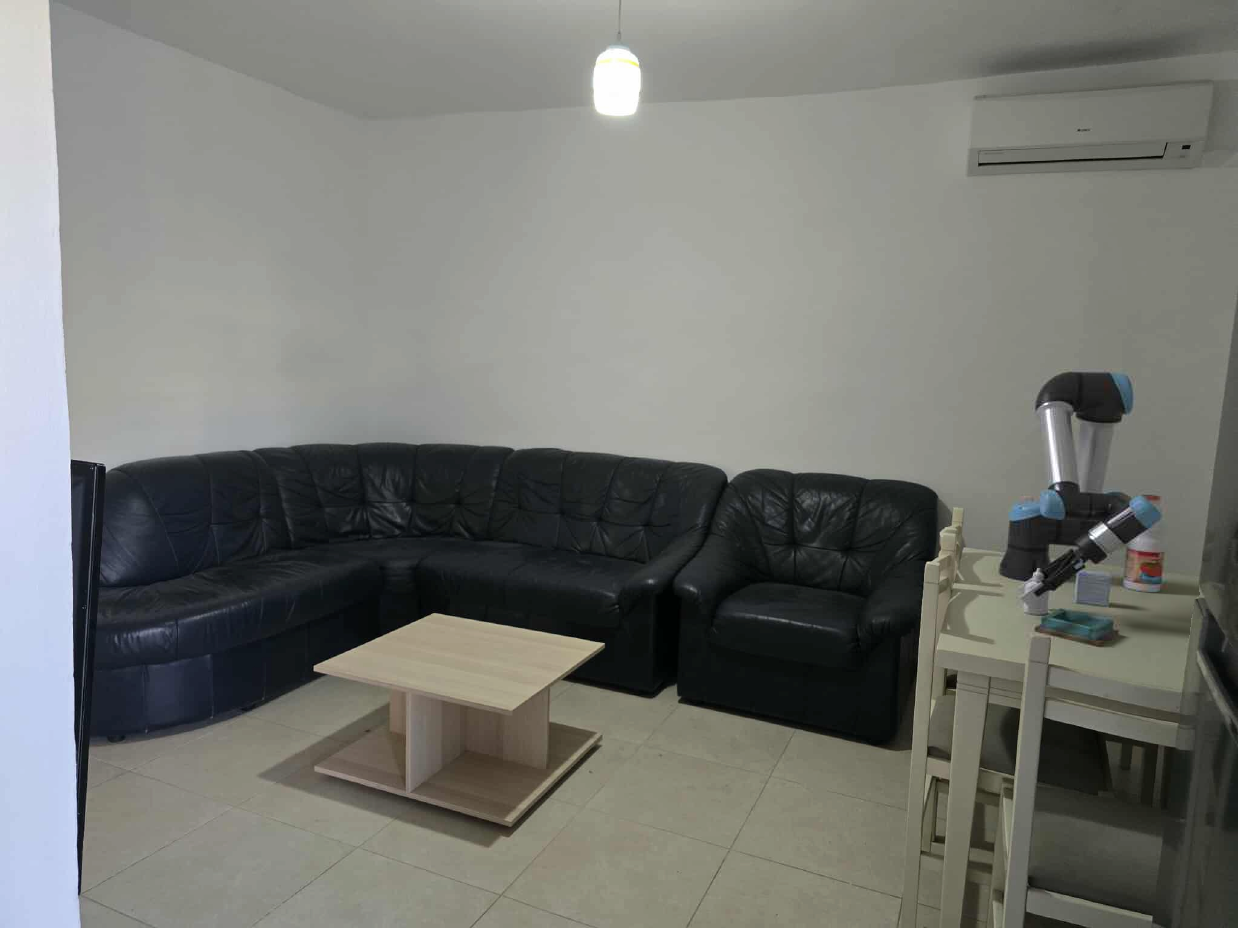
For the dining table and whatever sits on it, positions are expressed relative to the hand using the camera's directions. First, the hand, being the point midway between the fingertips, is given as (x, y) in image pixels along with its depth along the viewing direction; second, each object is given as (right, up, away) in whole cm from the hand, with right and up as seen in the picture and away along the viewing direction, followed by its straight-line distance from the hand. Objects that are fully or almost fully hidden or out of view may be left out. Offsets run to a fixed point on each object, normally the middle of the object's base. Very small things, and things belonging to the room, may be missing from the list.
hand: (1022, 596), depth 210 cm
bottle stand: (+5, -6, -16) cm, 18 cm away
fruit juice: (+49, -2, +27) cm, 56 cm away
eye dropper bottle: (+3, -4, -1) cm, 5 cm away
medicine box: (+24, -4, +10) cm, 26 cm away
